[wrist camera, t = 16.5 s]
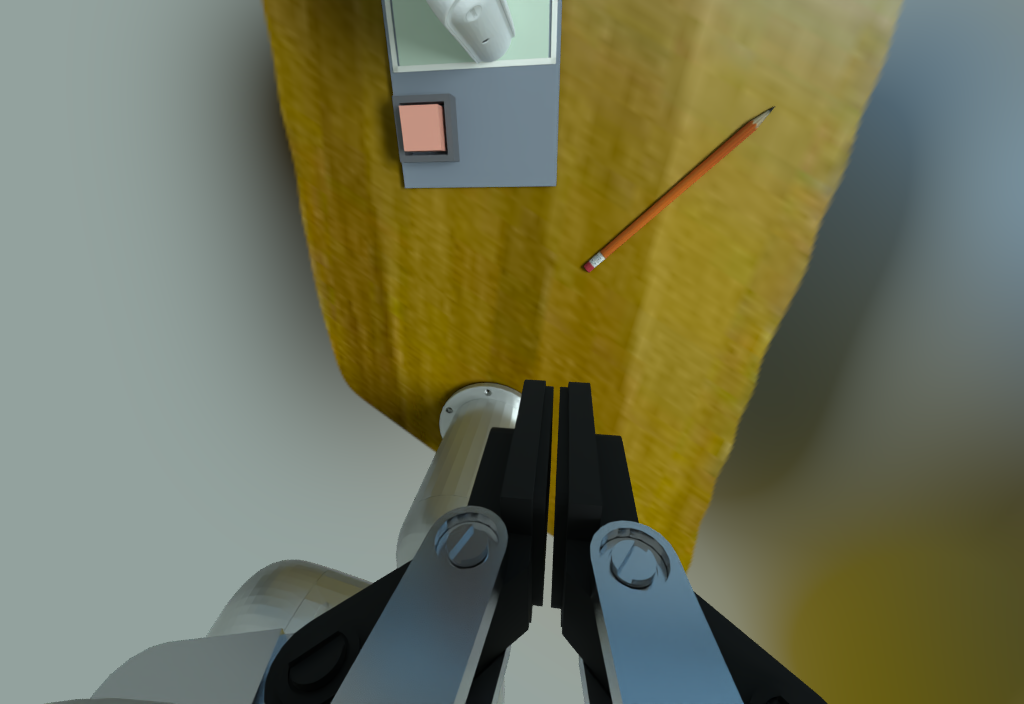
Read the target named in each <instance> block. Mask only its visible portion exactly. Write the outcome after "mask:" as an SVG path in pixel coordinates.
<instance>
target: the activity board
mask: <svg viewBox="0 0 1024 704" xmlns="http://www.w3.org/2000/svg"><path fill="white" fill-rule="evenodd" d="M381 1H382V9H383V17H384V25H385V33H386V41H387V49H388V57H389V64H390V72H391V80H392V88H393V96H392V101H393V109H394V116H395V124H396V132H397V140H398V148H399V155H400V162H402V167H403V175H404V183H405V188H442V187H517V186H556V176H557V144H558V112H559V79H560V47H561V15H562V0H506V1H507V4H508V7H509V10H510V13H511V17H512V20H513V24H514V29H515V37H513V38H512V39H511V44H510V46H509V48H508V50H507V51H506V53H505V54H504V55H503V56H502V57H501V58H499V59H498V60H496V61H493V62H483V61H482V62H480V63H479V64H477V63H476V62H475V61H474V60H473V59H472V58H471V57H470V55H469V54H468V53H467V52H466V51H465V49H464V48H463V47H462V46H461V45H460V43H459V42H458V41H457V40H456V39H455V38H454V37H453V35H452V34H451V33H450V32H449V31H448V30H447V28H446V27H445V26H444V25H443V24H442V23H441V21H440V20H439V19H438V18H437V16H436V15H435V13H434V12H433V11H432V9H431V8H430V6H429V5H428V3H427V1H426V0H381ZM429 104H438V105H440V106H442V107H444V110H445V122H446V135H447V148H448V151H446V152H407V151H404V144H403V136H402V128H401V119H400V111H399V106H406V105H429Z"/></svg>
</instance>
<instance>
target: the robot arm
mask: <svg viewBox="0 0 1024 704" xmlns="http://www.w3.org/2000/svg"><path fill="white" fill-rule="evenodd" d="M553 389H554V387H551V386H546V381H541V380H525V381H524V386H523V391H522V394H520V393H519V392H517V391H516V390H514V389H511V388H509V387H507V386H503V385H500V384H494V383H476V384H472V385H468V386H466V387H464V388H462V389H459V390H458V391H457V392H455V393H454V394H453V395H452V396H451V397H450V398H449V399H448V400H447V402H446V403H445V405H444V407H443V409H442V412H441V415H440V421H439V427H440V433H441V436H442V439H443V440H442V442H441V444H440V446H439V448H438V450H437V452H436V454H435V457H434V459H433V461H432V463H431V465H430V467H429V469H428V472H427V474H426V476H425V478H424V480H423V482H422V484H421V486H420V488H419V491H418V493H417V495H416V497H415V499H414V501H413V504H412V506H411V508H410V510H409V512H408V514H407V516H406V519H405V521H404V523H403V525H402V528H401V530H400V533H399V537H398V542H397V551H396V561H397V569H396V570H394V571H393V572H391V573H389V574H388V575H386V576H384V577H383V578H381V579H379V580H377V581H376V582H374V583H372V582H369V581H366V580H363V579H361V578H358V577H355V576H352V575H349V574H346V573H344V572H341V571H338V570H335V569H331V568H328V567H325V566H322V565H318V564H315V563H311V562H307V561H303V560H282V561H279V562H276V563H272V564H270V565H268V566H266V567H265V568H263V569H261V570H260V571H258V572H257V573H256V574H255V575H253V576H252V577H251V578H250V579H248V581H246V583H244V584H243V586H242V587H241V588H240V589H239V590H238V591H237V592H236V593H235V594H234V596H233V597H232V598H231V600H230V601H229V602H228V604H227V605H226V606H225V608H224V609H223V611H222V612H221V614H220V615H219V617H218V618H217V620H216V621H215V623H214V625H213V626H212V628H211V629H210V631H209V633H208V634H207V636H206V638H198V639H190V640H181V641H173V642H167V643H163V644H160V645H156V646H153V647H150V648H148V649H146V650H144V651H143V652H141V653H139V654H137V655H136V656H134V657H132V658H130V659H129V660H128V661H126V662H125V663H124V664H123V665H122V666H120V667H119V668H118V669H117V670H115V671H114V672H113V673H112V674H110V676H109V677H108V678H107V679H106V680H105V681H104V683H103V684H102V685H101V686H100V687H99V688H98V689H97V690H96V692H95V693H94V694H93V695H92V697H91V698H90V699H75V700H68V701H60V702H53V703H46V704H504V693H505V689H504V675H505V671H506V668H507V663H508V660H509V656H510V649H511V644H512V643H513V642H514V641H516V640H517V639H518V638H519V637H520V636H521V635H523V634H524V633H525V632H526V631H527V630H528V628H529V623H531V618H532V606H533V605H536V606H542V605H543V590H544V572H545V556H546V540H547V539H546V538H547V523H548V507H549V490H550V472H551V445H552V417H553ZM551 607H552V608H560V609H561V627H562V634H563V636H564V637H565V638H566V640H568V642H569V643H570V645H571V646H572V647H573V648H574V649H575V651H576V652H577V653H578V654H579V667H580V675H581V682H582V688H583V695H584V702H585V704H827V703H826V702H825V701H824V700H823V699H822V698H821V697H820V696H819V695H818V694H817V693H815V692H814V691H813V690H812V689H811V688H809V687H808V686H807V685H806V684H804V683H803V682H802V681H801V680H800V679H799V678H797V677H796V676H795V675H794V674H793V673H791V672H790V671H789V670H788V669H787V668H785V667H784V666H783V665H782V664H780V663H779V662H778V661H777V660H776V659H774V658H773V657H772V656H771V655H770V654H768V653H767V652H766V651H765V650H764V649H762V648H761V647H760V646H759V645H758V644H756V643H755V642H754V641H753V640H752V639H750V638H749V637H748V636H747V635H746V634H744V633H743V632H742V631H741V630H740V629H738V628H737V627H736V626H735V625H734V624H732V623H731V622H730V621H729V620H728V619H726V618H725V617H724V616H723V615H721V614H720V613H719V612H718V611H716V610H715V609H714V608H713V607H712V606H710V605H709V604H708V603H707V602H706V601H705V600H703V599H702V598H701V597H700V596H699V595H697V594H696V593H695V592H694V591H693V589H692V587H691V585H690V583H689V580H688V578H687V576H686V574H685V571H684V569H683V567H682V565H681V562H680V560H679V558H678V556H677V554H676V553H675V551H674V549H673V548H672V546H671V544H670V543H669V542H668V541H667V540H666V539H665V538H664V537H663V536H662V535H661V534H659V533H658V532H656V531H655V530H653V529H651V528H650V527H648V526H645V525H643V524H640V523H639V522H638V517H637V512H636V507H635V502H634V497H633V492H632V487H631V482H630V477H629V472H628V467H627V462H626V457H625V452H624V447H623V442H622V438H621V436H615V435H601V434H595V427H594V417H593V407H592V397H591V387H590V383H579V382H569V384H568V387H560V404H559V426H558V449H557V471H556V496H555V520H554V545H553V570H552V595H551Z"/></svg>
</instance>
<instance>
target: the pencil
mask: <svg viewBox="0 0 1024 704" xmlns="http://www.w3.org/2000/svg"><path fill="white" fill-rule="evenodd" d="M774 107H775V106H774ZM774 107H773V108H774ZM773 108H771V109H770V110H768V111H766V112H764V113H763V114H761V115H759V116H758V117H756V118H754V119H753V120H751V121H749V122H748V123H747V124H746V125H745V126H743V127H742V128H741V129H740V130H739V131H738V132H737V133H735V134H734V135H733V136H732V137H731V138H730V139H729V140H727V141H726V142H725V143H724V144H723V145H722V146H721V147H719V148H718V149H717V150H716V151H715V152H714V153H712V154H711V155H710V156H709V157H708V158H707V159H706V160H704V161H703V162H702V163H701V164H700V165H699V166H698V167H696V168H695V169H694V170H693V171H692V172H691V173H690V174H688V175H687V176H686V177H685V178H684V179H683V180H681V181H680V182H679V183H678V184H677V185H676V186H675V187H673V188H672V189H671V190H670V191H669V192H668V193H667V194H665V195H664V196H663V197H662V198H661V199H660V200H659V201H657V202H656V203H655V204H654V205H653V206H652V207H650V208H649V209H648V210H647V211H646V212H645V213H644V214H642V215H641V216H640V217H639V218H638V219H637V220H636V221H634V222H633V223H632V224H631V225H630V226H629V227H628V228H626V229H625V230H624V231H623V232H622V233H621V234H619V235H618V236H617V237H616V238H615V239H614V240H613V241H611V242H610V243H609V244H608V245H607V246H606V247H605V248H603V249H602V250H601V251H600V252H599V253H598V254H597V255H595V256H594V257H593V258H592V259H591V260H590V261H588V262H587V263H586V264H585V265H584V268H585V269H586V270H587V271H588V272H590V271H592V270H593V269H594V268H595V267H596V266H597V265H599V264H600V263H601V262H602V261H603V260H604V259H606V258H607V257H608V256H609V255H610V254H611V253H613V252H614V251H615V250H616V249H617V248H618V247H620V246H621V245H622V244H623V243H624V242H625V241H627V240H628V239H629V238H630V237H631V236H632V235H634V234H635V233H636V232H637V231H638V230H639V229H641V228H642V227H643V226H644V225H645V224H647V223H648V222H649V221H650V220H651V219H652V218H654V217H655V216H656V215H657V214H658V213H659V212H661V211H662V210H663V209H664V208H665V207H666V206H668V205H669V204H670V203H671V202H672V201H673V200H675V199H676V198H677V197H678V196H679V195H680V194H682V193H683V192H684V191H685V190H686V189H687V188H689V187H690V186H691V185H692V184H693V183H694V182H696V181H697V180H698V179H699V178H700V177H701V176H703V175H704V174H705V173H706V172H707V171H708V170H710V169H711V168H712V167H713V166H714V165H715V164H717V163H718V162H719V161H720V160H721V159H722V158H724V157H725V156H726V155H727V154H728V153H729V152H731V151H732V150H733V149H734V148H735V147H737V146H738V145H739V144H740V143H741V142H742V141H744V140H745V139H746V138H747V137H748V136H749V135H751V134H752V133H753V132H754V131H755V130H756V129H757V128H758V127H759V125H760V124H761V123H762V122H763V121H764V119H765V118H766V117H767V116H768V115H769V113H770V112H771V111H772V110H773Z"/></svg>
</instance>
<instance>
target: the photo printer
mask: <svg viewBox="0 0 1024 704" xmlns="http://www.w3.org/2000/svg"><path fill="white" fill-rule="evenodd" d="M426 1H427V3H428V5H429V6H430V8H431V9H432V11H433V12H434V13H435V15H436V16H437V18H438V19H439V20H440V21H441V23H442V24H443V25H444V26H445V27H446V28H447V30H448V31H449V32H450V33H451V34H452V35H453V37H454V38H455V39H456V40H457V41H458V42H459V43H460V45H461V46H462V47H463V48H464V49H465V51H466V52H467V53H468V54H469V55H470V57H471V58H472V59H473V60H474V61H475V62H476V63H477V64H479V63H480V62H482V61H483V62H493V61H496V60H498V59H499V58H501V57H502V56H503V55H504V54H505V53H506V51H507V50H508V48H509V46H510V44H511V39H512V38H513V37H515V29H514V24H513V20H512V17H511V13H510V10H509V7H508V4H507V1H506V0H426Z"/></svg>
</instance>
